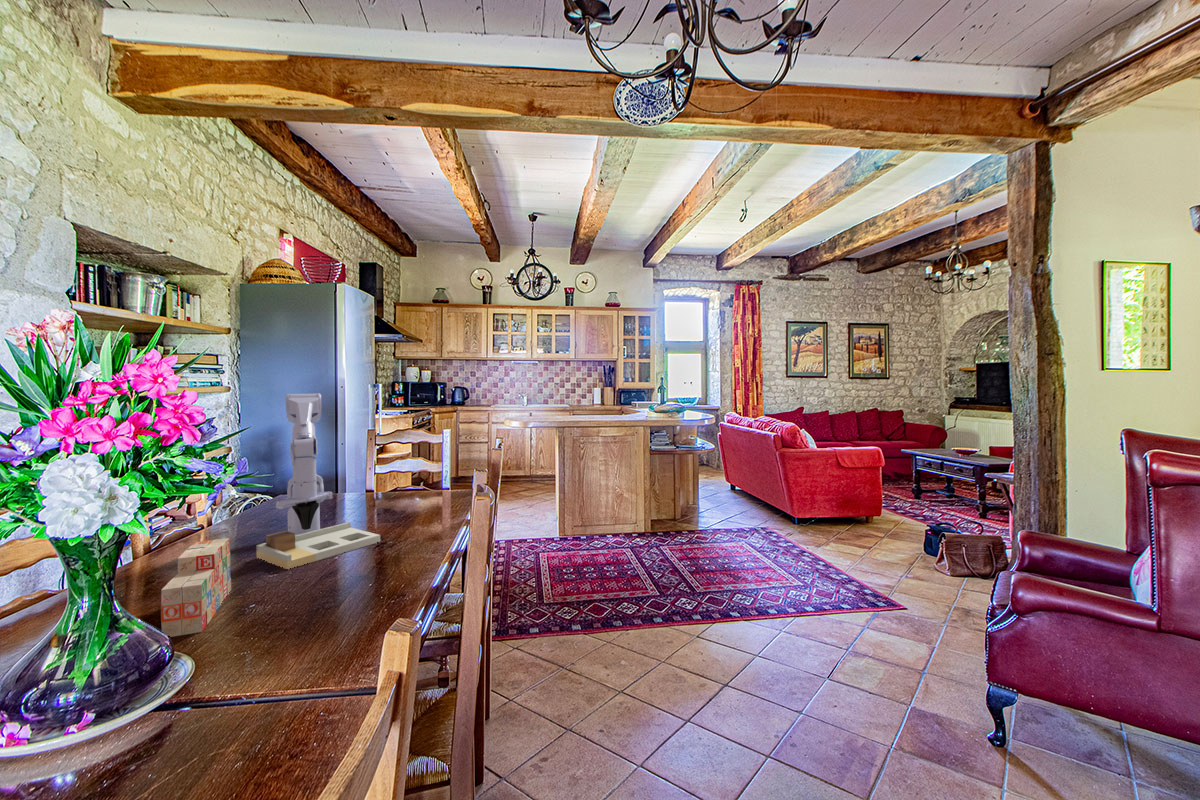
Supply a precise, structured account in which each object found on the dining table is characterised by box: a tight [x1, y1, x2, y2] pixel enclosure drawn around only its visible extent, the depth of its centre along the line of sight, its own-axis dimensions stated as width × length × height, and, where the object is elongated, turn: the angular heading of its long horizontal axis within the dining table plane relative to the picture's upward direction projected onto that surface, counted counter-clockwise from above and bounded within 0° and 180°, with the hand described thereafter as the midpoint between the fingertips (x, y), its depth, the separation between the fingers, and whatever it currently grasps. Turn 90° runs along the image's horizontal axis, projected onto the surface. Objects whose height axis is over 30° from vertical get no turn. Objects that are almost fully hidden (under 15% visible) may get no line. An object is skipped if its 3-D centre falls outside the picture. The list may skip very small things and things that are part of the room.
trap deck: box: [255, 522, 381, 570], centre depth 142 cm, size 16×26×4 cm, turn 148°
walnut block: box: [265, 530, 295, 552], centre depth 137 cm, size 5×5×4 cm
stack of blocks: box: [160, 537, 232, 638], centre depth 103 cm, size 21×6×12 cm, turn 24°
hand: (306, 528), depth 143 cm, fingers closed
